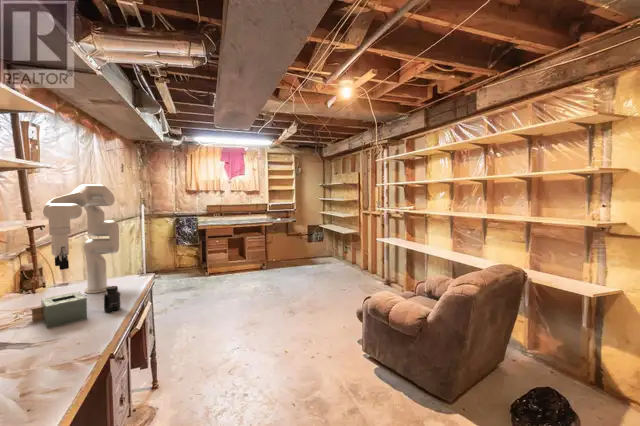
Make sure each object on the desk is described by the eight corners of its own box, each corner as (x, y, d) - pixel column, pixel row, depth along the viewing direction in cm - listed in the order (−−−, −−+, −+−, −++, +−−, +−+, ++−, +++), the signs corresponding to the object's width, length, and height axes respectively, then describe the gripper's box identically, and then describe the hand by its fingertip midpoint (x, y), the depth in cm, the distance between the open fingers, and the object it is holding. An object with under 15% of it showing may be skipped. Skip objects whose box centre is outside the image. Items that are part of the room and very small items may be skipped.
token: (32, 320, 139) (31, 307, 139) (49, 316, 144) (48, 303, 144) (33, 321, 137) (32, 309, 137) (50, 317, 142) (49, 305, 142)
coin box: (42, 319, 139) (41, 298, 139) (79, 311, 150) (79, 291, 149) (47, 328, 130) (46, 306, 130) (87, 318, 141) (86, 298, 140)
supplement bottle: (112, 313, 147) (111, 289, 147) (100, 312, 149) (99, 288, 148) (123, 308, 154) (123, 285, 153) (112, 307, 155) (112, 284, 155)
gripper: (45, 230, 142) (47, 265, 143) (53, 233, 131) (55, 272, 132) (66, 228, 147) (67, 262, 149) (74, 232, 136) (76, 269, 138)
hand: (61, 267), depth 140 cm, fingers open, 9 cm apart
